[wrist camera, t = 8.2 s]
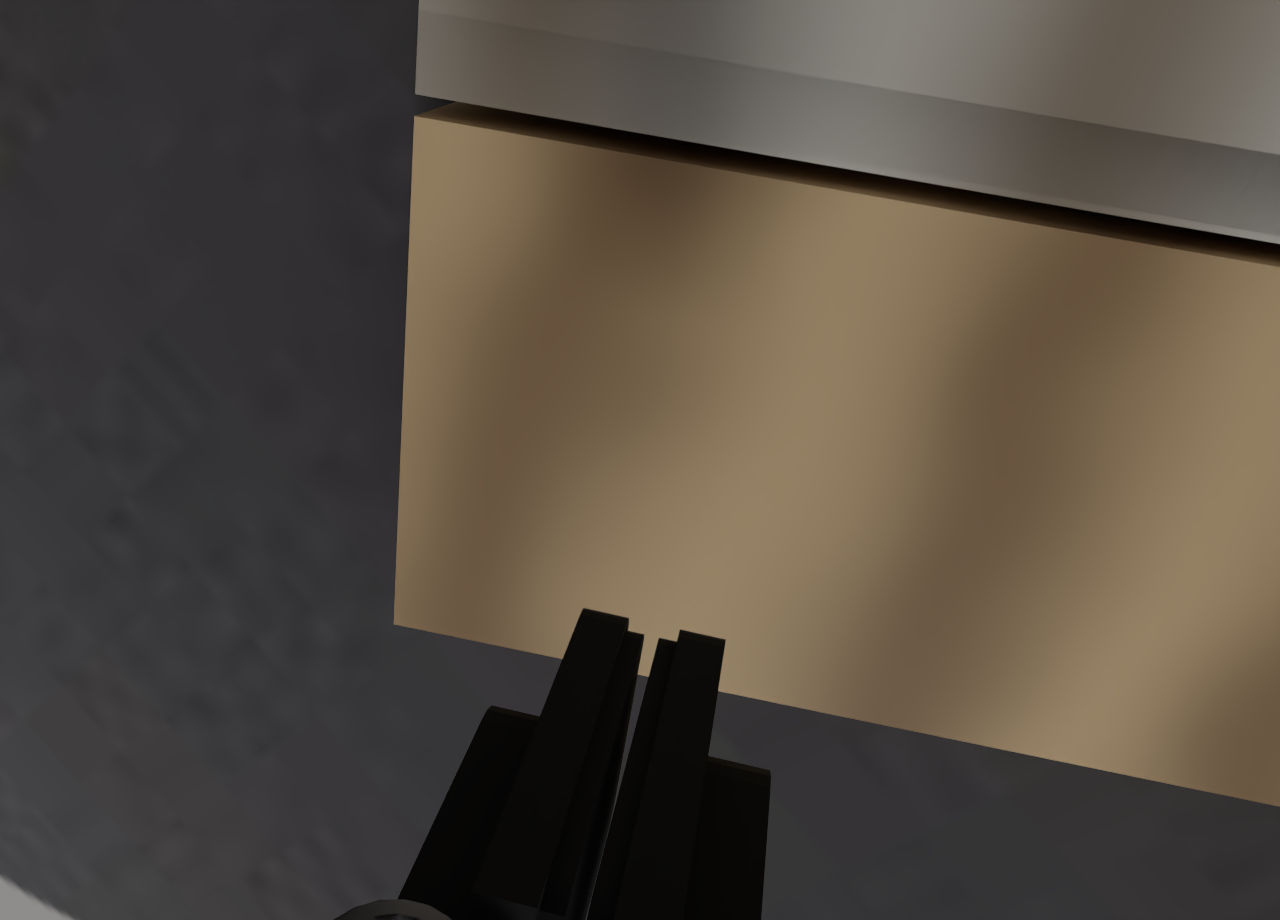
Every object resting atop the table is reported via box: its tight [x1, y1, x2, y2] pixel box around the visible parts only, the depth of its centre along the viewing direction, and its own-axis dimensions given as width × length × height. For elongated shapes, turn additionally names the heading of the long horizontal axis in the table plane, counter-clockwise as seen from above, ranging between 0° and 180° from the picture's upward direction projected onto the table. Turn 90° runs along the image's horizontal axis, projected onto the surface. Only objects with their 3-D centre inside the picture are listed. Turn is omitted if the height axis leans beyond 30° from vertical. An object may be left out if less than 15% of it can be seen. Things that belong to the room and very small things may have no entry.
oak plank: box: [394, 102, 1280, 807], centre depth 16 cm, size 20×9×2 cm, turn 81°
